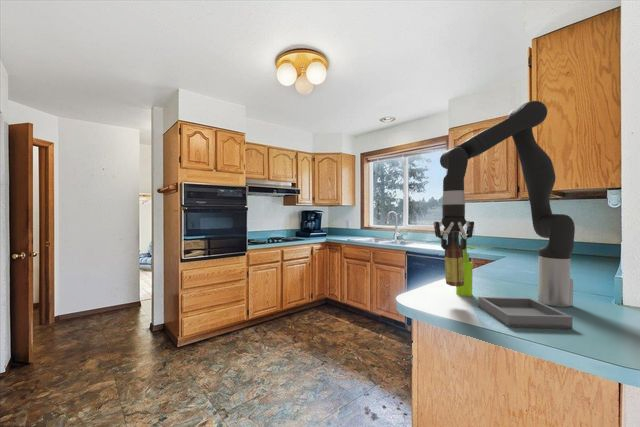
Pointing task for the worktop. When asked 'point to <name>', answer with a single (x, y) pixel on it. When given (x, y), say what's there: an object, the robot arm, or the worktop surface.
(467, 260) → the soap dispenser
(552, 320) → the charcoal tray
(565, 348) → the worktop surface
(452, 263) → the sauce bottle
